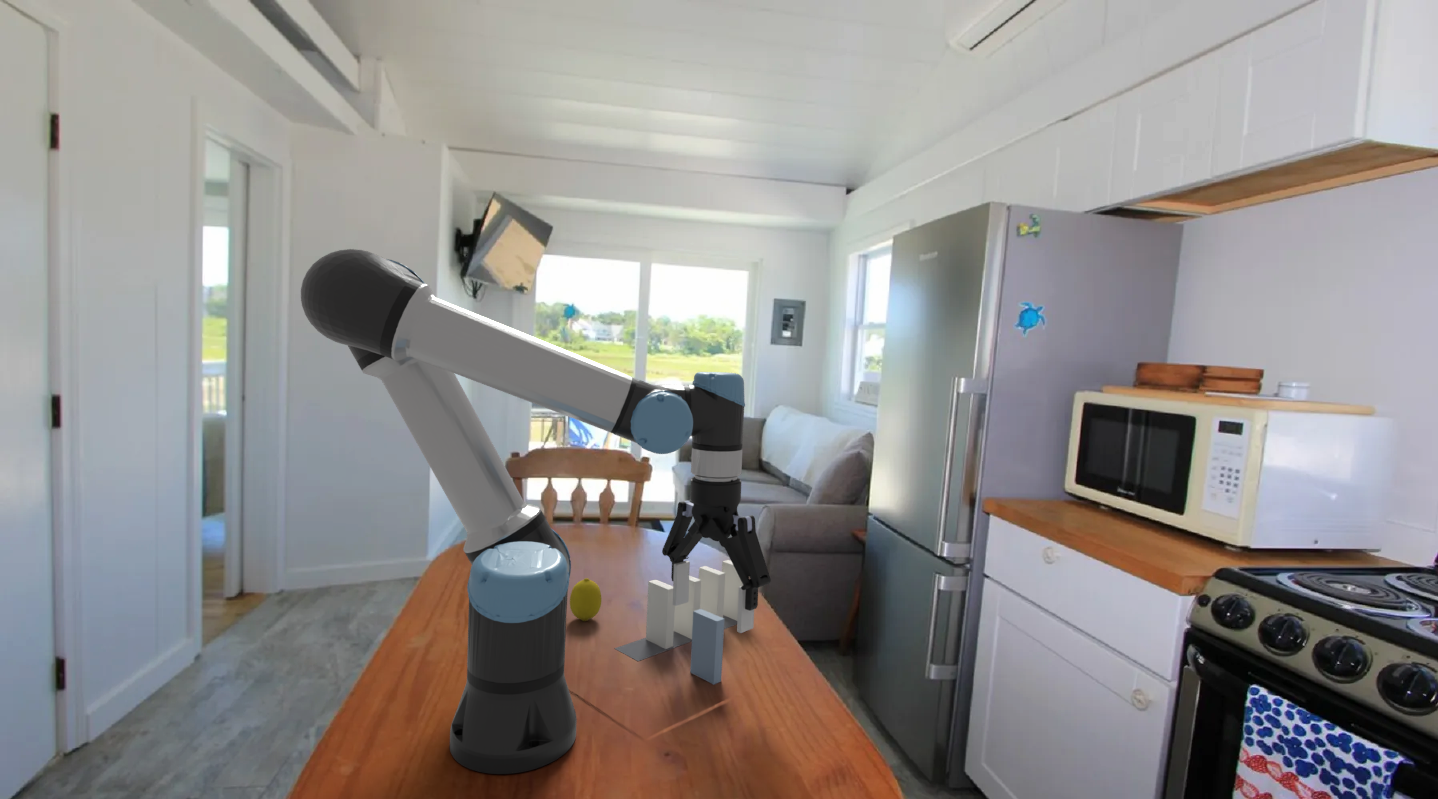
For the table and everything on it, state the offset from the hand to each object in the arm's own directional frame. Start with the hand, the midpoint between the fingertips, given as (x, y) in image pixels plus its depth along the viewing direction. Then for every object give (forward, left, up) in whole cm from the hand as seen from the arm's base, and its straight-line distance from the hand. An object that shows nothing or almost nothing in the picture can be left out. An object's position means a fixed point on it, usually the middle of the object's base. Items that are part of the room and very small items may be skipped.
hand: (711, 616), depth 104 cm
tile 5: (+24, 0, -9) cm, 26 cm away
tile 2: (+9, +10, -9) cm, 17 cm away
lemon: (+15, +25, -10) cm, 31 cm away
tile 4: (+19, +4, -9) cm, 22 cm away
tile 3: (+14, +7, -9) cm, 18 cm away
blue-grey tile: (0, 0, -10) cm, 10 cm away
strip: (+14, +7, -10) cm, 19 cm away
